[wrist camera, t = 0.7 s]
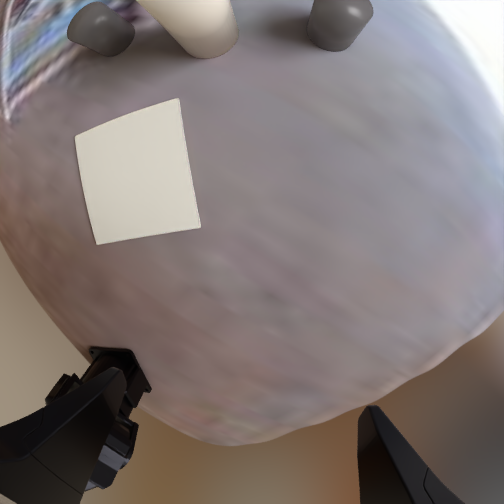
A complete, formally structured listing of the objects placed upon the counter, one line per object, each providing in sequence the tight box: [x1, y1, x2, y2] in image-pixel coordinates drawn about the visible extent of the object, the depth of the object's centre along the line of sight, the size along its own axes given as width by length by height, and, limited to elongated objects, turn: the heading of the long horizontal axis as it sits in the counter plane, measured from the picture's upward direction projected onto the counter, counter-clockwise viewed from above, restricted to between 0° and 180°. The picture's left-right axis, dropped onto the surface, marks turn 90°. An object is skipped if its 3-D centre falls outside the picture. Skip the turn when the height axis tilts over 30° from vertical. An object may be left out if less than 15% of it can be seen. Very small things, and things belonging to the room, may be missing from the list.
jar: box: [136, 0, 239, 59], centre depth 10 cm, size 4×4×12 cm
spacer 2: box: [307, 0, 373, 52], centre depth 12 cm, size 4×4×5 cm
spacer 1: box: [67, 2, 135, 56], centre depth 13 cm, size 4×4×5 cm
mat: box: [75, 98, 201, 245], centre depth 19 cm, size 10×10×1 cm
